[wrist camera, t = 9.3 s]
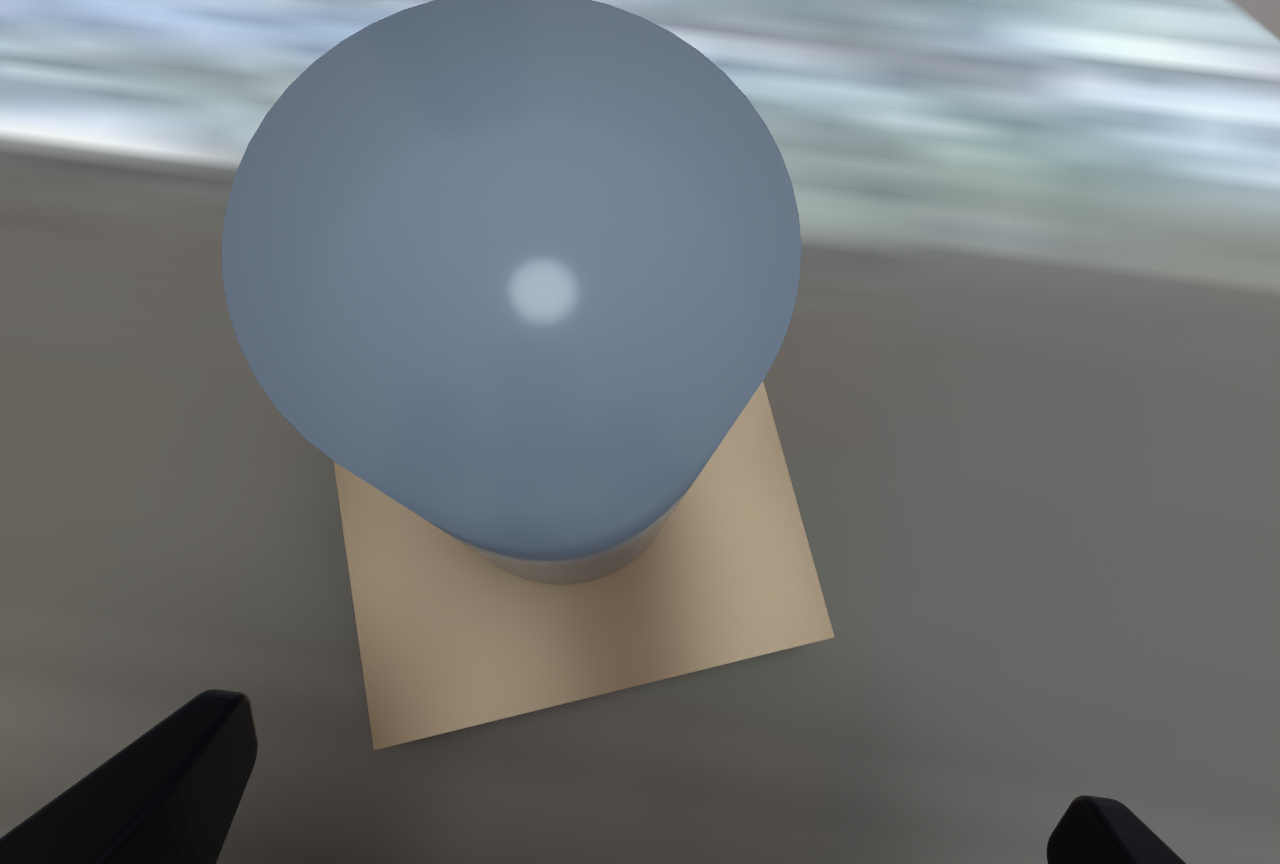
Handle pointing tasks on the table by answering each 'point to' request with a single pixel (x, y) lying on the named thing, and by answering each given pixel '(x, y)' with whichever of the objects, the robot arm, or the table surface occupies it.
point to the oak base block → (578, 600)
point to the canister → (515, 271)
